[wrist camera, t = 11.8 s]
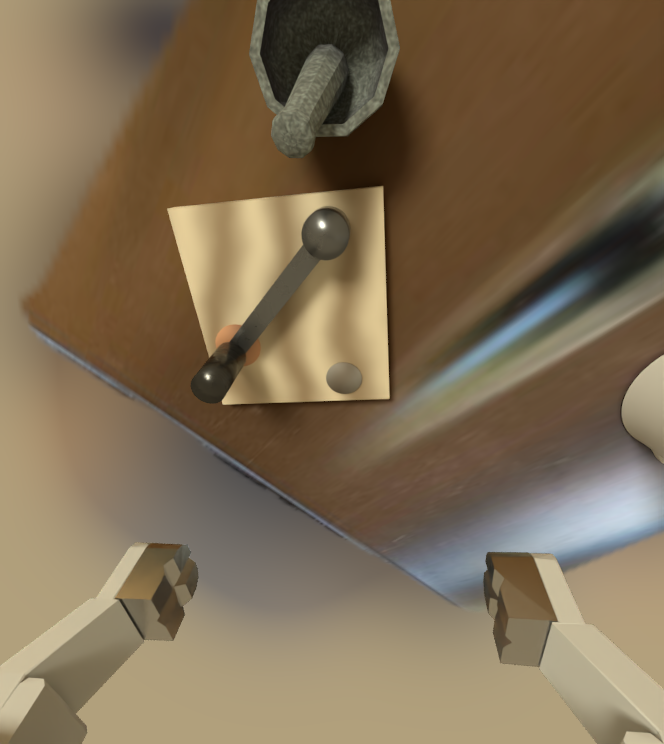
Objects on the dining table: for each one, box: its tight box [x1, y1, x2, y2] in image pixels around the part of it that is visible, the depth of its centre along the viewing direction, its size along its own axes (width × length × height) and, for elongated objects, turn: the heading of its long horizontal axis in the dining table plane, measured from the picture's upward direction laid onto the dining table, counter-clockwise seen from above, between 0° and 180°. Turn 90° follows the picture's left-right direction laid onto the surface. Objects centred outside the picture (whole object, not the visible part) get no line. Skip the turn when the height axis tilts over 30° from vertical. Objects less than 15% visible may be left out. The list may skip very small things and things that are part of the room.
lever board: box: [167, 186, 390, 405], centre depth 40 cm, size 20×22×2 cm
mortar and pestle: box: [249, 0, 400, 158], centre depth 26 cm, size 11×9×12 cm
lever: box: [191, 206, 351, 403], centre depth 34 cm, size 4×20×8 cm, turn 141°
